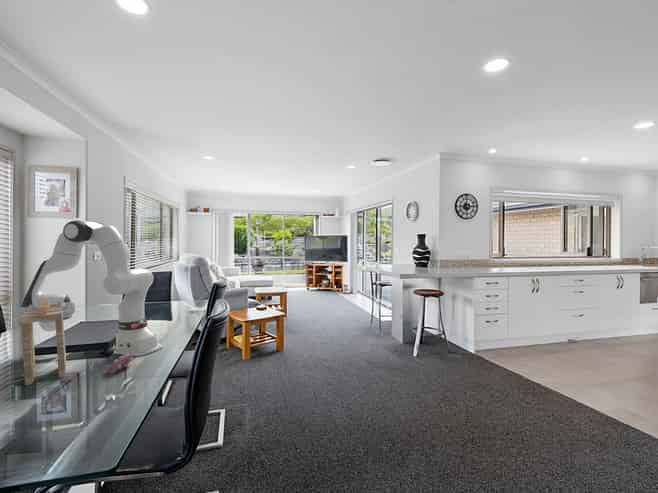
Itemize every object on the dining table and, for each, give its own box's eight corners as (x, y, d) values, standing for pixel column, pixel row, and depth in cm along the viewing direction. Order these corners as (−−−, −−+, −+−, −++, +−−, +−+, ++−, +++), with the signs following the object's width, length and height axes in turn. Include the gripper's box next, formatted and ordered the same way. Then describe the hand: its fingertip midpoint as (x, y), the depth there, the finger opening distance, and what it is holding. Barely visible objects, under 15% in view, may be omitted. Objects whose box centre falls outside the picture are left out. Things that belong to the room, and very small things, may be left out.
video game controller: (112, 378, 135) (118, 363, 134) (103, 372, 136) (109, 357, 135) (131, 368, 145) (136, 354, 144) (123, 362, 146) (128, 349, 145)
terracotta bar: (41, 305, 147) (41, 298, 147) (50, 304, 149) (49, 298, 148) (36, 315, 129) (36, 307, 129) (46, 314, 131) (46, 306, 131)
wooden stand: (29, 372, 139) (25, 310, 137) (66, 364, 146) (62, 306, 145) (24, 386, 126) (20, 318, 125) (65, 377, 133) (61, 313, 132)
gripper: (18, 312, 151) (13, 301, 141) (75, 305, 164) (74, 294, 154) (18, 325, 149) (13, 315, 139) (76, 317, 161) (74, 307, 151)
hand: (45, 304), depth 147 cm, fingers open, 8 cm apart
